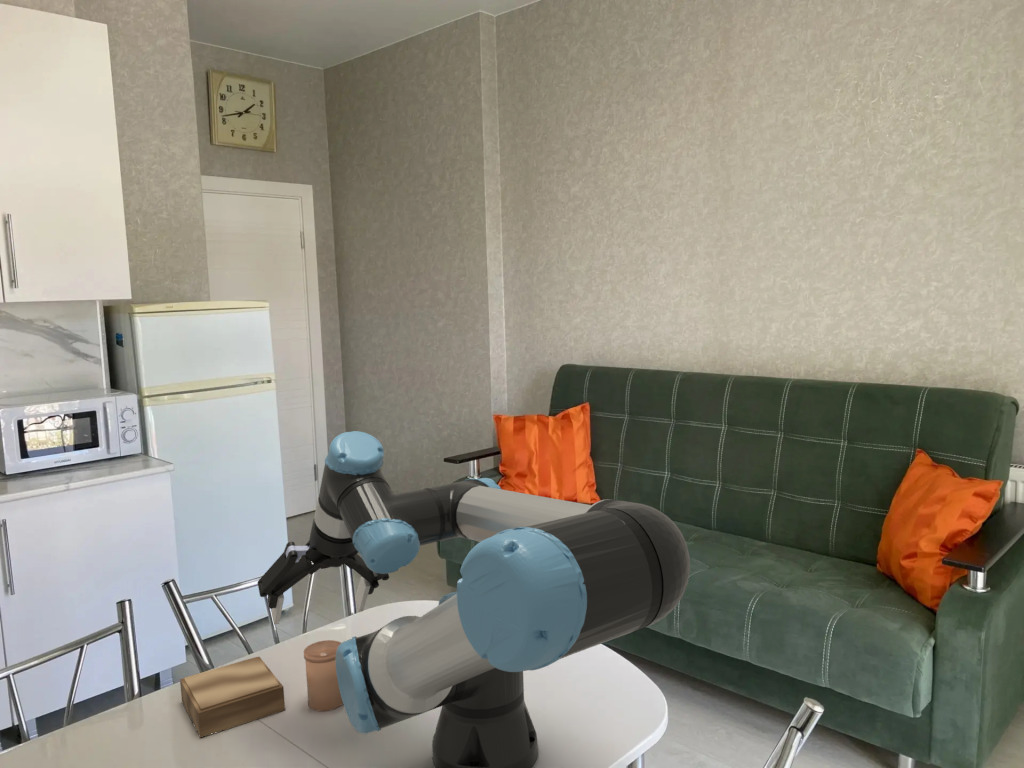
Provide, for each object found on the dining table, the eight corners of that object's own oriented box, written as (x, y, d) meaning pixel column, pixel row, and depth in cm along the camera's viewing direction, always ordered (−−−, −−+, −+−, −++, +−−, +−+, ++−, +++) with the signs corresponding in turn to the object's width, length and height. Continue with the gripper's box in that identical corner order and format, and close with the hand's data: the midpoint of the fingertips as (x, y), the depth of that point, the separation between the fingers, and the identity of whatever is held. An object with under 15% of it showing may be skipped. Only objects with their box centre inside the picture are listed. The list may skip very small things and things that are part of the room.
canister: (353, 703, 126) (350, 650, 125) (315, 716, 123) (311, 662, 122) (338, 687, 131) (335, 636, 130) (301, 699, 128) (298, 647, 127)
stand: (284, 710, 125) (283, 684, 124) (200, 738, 117) (198, 711, 117) (260, 678, 135) (259, 654, 135) (182, 702, 128) (179, 677, 128)
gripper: (412, 496, 122) (385, 582, 134) (247, 510, 111) (234, 602, 122) (426, 532, 117) (397, 618, 129) (255, 550, 105) (240, 643, 117)
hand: (318, 610), depth 126 cm, fingers open, 13 cm apart
